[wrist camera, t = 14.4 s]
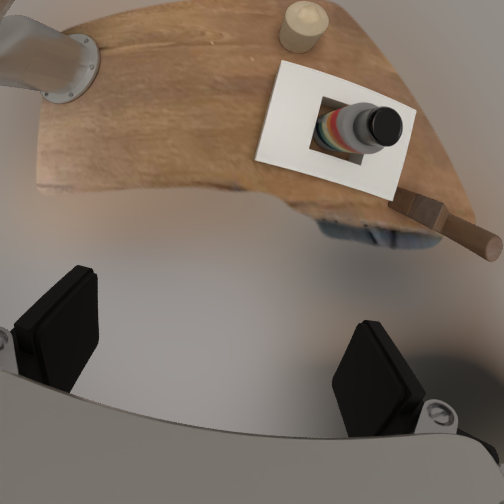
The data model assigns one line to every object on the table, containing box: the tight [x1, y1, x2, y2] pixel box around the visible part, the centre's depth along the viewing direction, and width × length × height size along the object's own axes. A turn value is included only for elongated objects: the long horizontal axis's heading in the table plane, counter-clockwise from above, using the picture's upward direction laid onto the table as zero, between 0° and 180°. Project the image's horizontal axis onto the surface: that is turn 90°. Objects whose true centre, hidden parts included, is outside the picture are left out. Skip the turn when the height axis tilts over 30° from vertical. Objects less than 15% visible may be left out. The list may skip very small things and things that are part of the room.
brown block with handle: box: [388, 187, 503, 262], centre depth 38 cm, size 4×11×18 cm, turn 71°
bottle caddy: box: [254, 60, 416, 201], centre depth 40 cm, size 20×14×6 cm
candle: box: [279, 1, 329, 53], centre depth 33 cm, size 6×6×10 cm
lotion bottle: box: [313, 102, 403, 154], centre depth 33 cm, size 6×6×20 cm
